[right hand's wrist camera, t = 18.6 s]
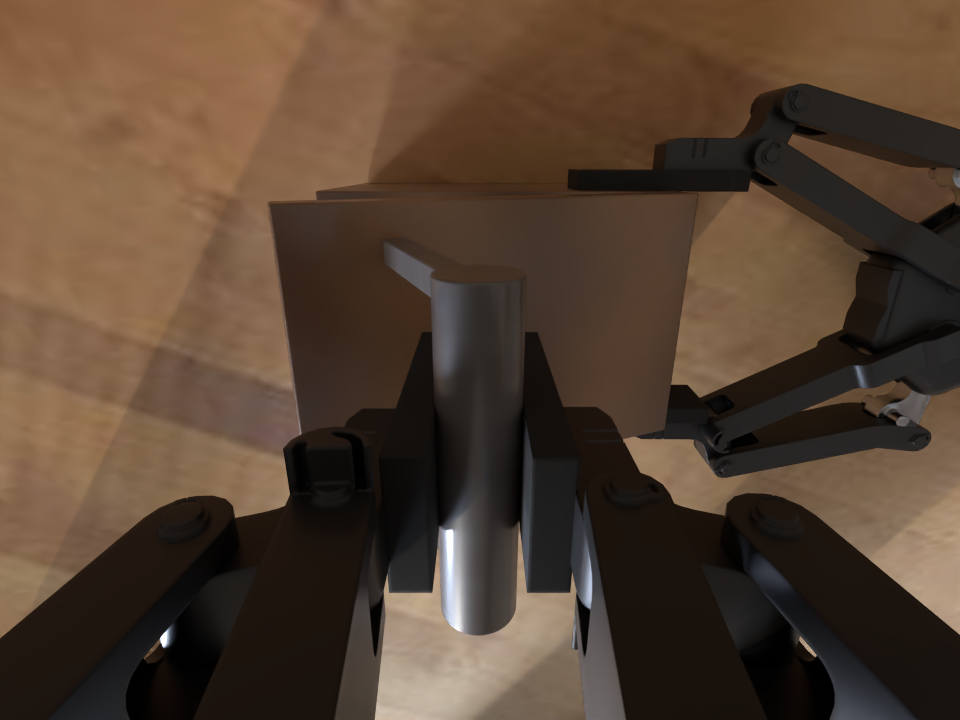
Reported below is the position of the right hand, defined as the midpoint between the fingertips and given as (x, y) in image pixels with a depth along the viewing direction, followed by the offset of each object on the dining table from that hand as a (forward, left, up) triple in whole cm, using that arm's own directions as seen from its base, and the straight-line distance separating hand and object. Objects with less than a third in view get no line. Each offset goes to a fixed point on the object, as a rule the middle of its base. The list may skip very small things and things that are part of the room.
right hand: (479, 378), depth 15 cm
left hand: (+2, -3, -9) cm, 10 cm away
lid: (0, -1, -4) cm, 4 cm away
